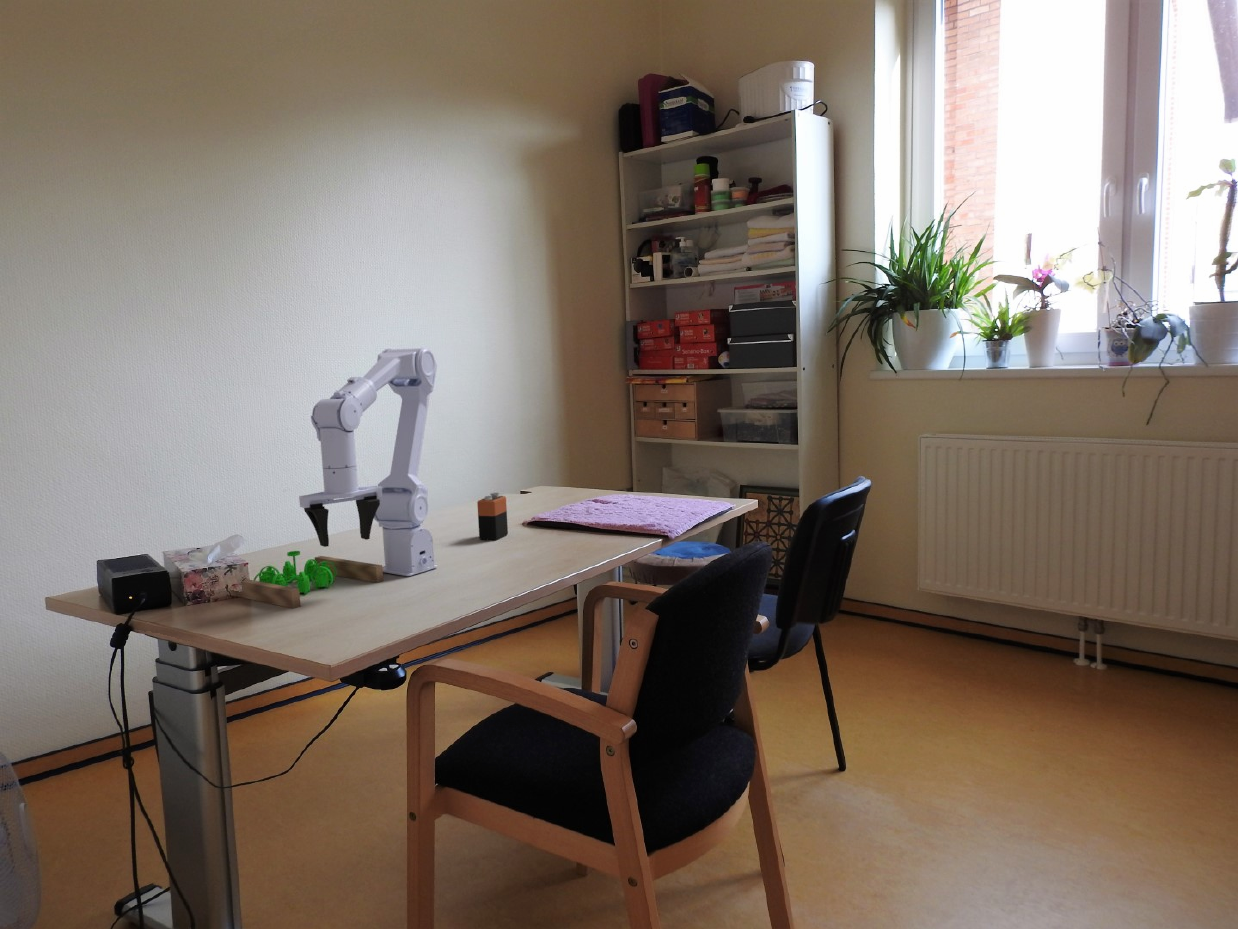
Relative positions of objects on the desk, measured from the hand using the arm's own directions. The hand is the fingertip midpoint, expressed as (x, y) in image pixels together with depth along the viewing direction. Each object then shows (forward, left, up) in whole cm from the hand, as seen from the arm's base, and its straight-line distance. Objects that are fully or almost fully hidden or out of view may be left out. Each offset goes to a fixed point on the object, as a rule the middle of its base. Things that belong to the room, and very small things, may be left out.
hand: (345, 542), depth 160 cm
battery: (+9, -48, -10) cm, 50 cm away
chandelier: (+13, +1, -10) cm, 17 cm away
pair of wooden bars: (+11, +1, -10) cm, 14 cm away
